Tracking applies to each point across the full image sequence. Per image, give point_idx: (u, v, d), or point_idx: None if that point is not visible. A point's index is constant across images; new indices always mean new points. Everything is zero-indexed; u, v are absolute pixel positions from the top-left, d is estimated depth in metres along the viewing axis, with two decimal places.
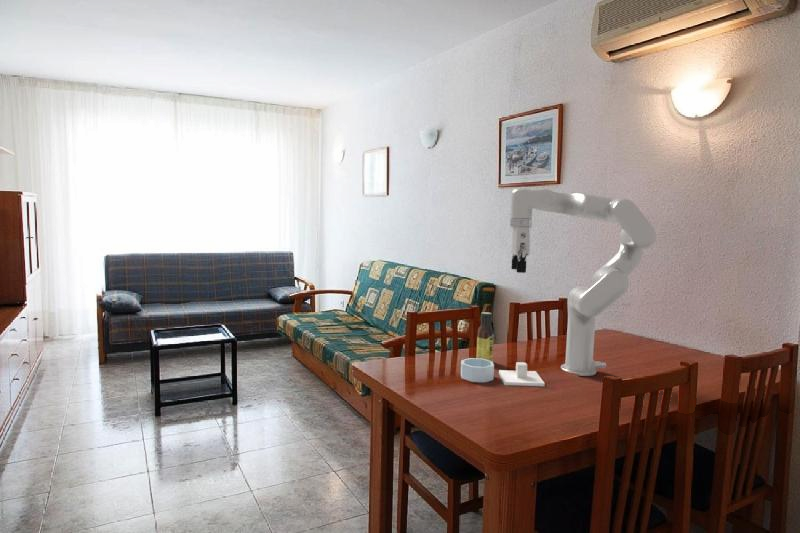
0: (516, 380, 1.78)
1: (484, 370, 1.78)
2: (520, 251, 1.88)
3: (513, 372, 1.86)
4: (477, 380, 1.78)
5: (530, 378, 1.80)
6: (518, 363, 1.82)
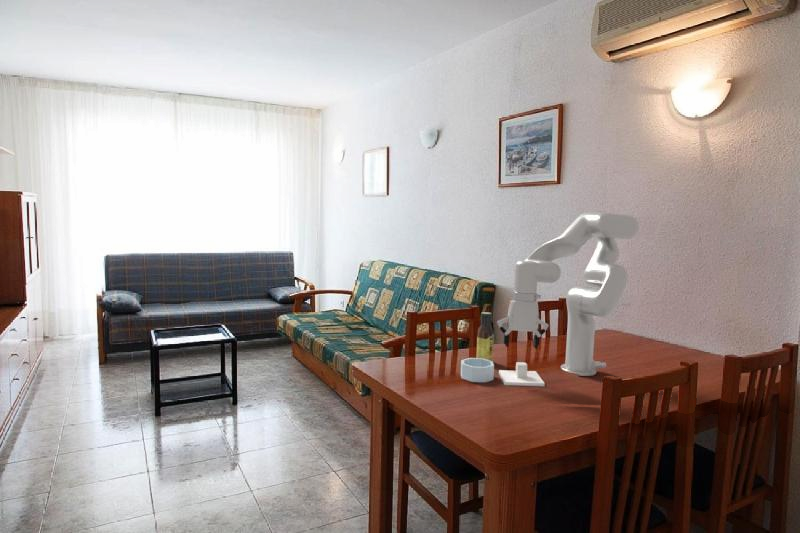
0: (516, 380, 1.78)
1: (484, 370, 1.78)
2: None
3: (513, 372, 1.86)
4: (477, 380, 1.78)
5: (530, 378, 1.80)
6: (518, 363, 1.82)
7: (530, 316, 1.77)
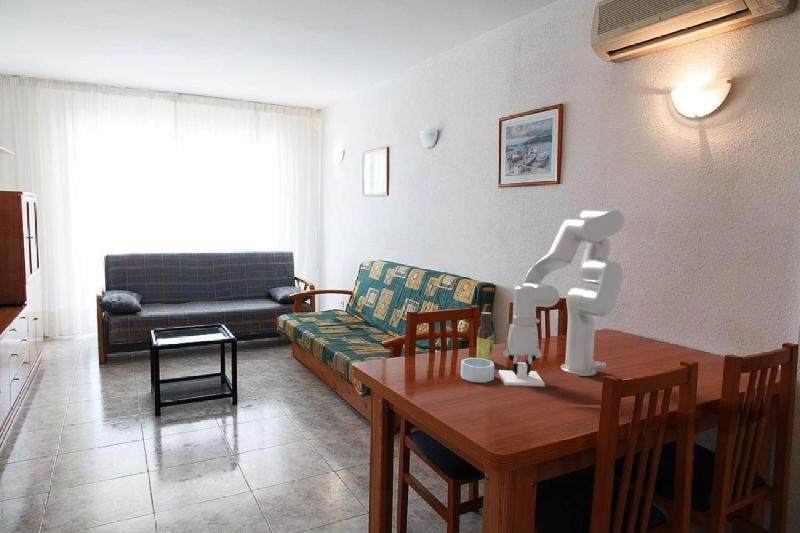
0: (516, 380, 1.78)
1: (485, 370, 1.78)
2: None
3: (513, 372, 1.86)
4: (477, 380, 1.78)
5: (530, 378, 1.80)
6: (518, 363, 1.82)
7: (530, 340, 1.78)
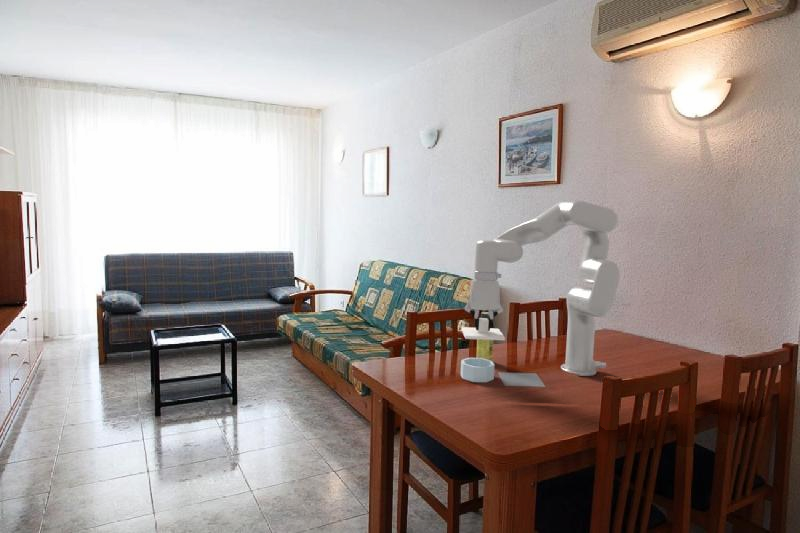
0: (477, 334, 1.77)
1: (485, 370, 1.78)
2: None
3: (475, 329, 1.85)
4: (478, 380, 1.78)
5: (492, 333, 1.80)
6: (480, 319, 1.81)
7: (491, 295, 1.78)
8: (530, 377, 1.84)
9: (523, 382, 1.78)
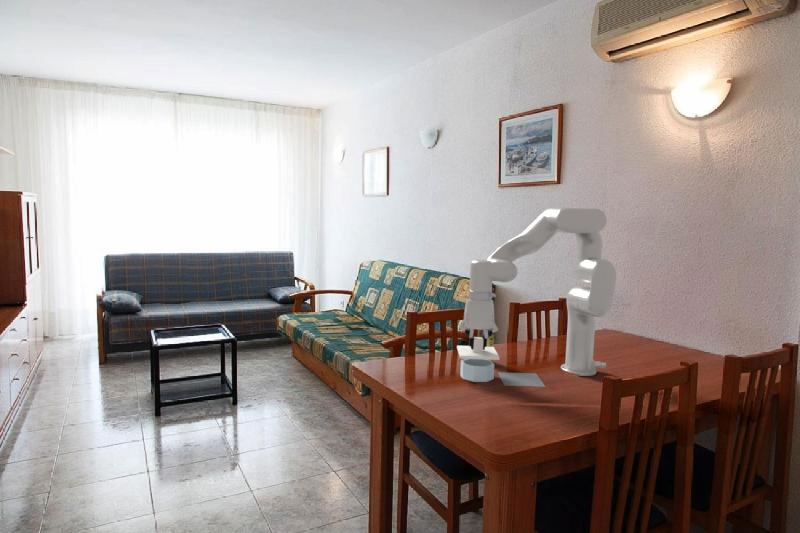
0: (471, 354, 1.78)
1: (485, 369, 1.78)
2: None
3: (470, 348, 1.86)
4: (479, 379, 1.78)
5: (486, 352, 1.81)
6: (475, 338, 1.82)
7: (485, 314, 1.79)
8: (530, 377, 1.84)
9: (523, 382, 1.78)
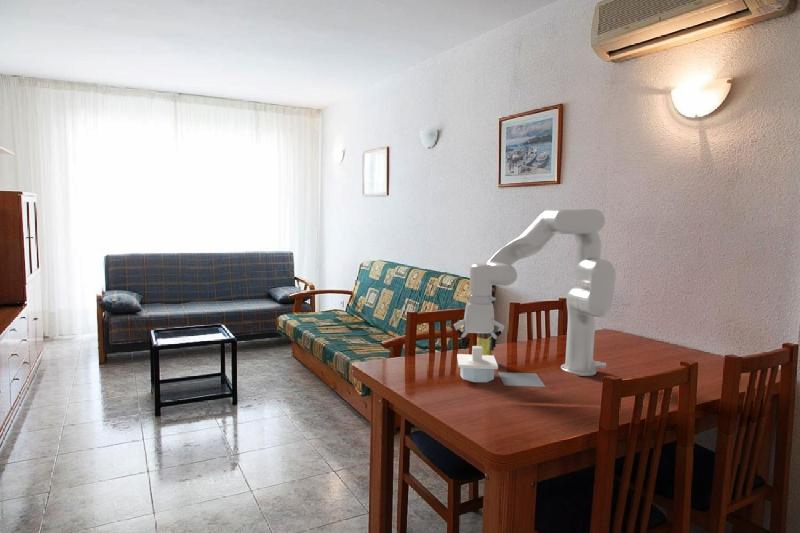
0: (470, 363, 1.78)
1: (486, 370, 1.78)
2: None
3: (470, 356, 1.86)
4: (479, 380, 1.78)
5: (486, 361, 1.81)
6: (474, 347, 1.82)
7: (485, 318, 1.79)
8: (530, 377, 1.84)
9: (523, 382, 1.78)
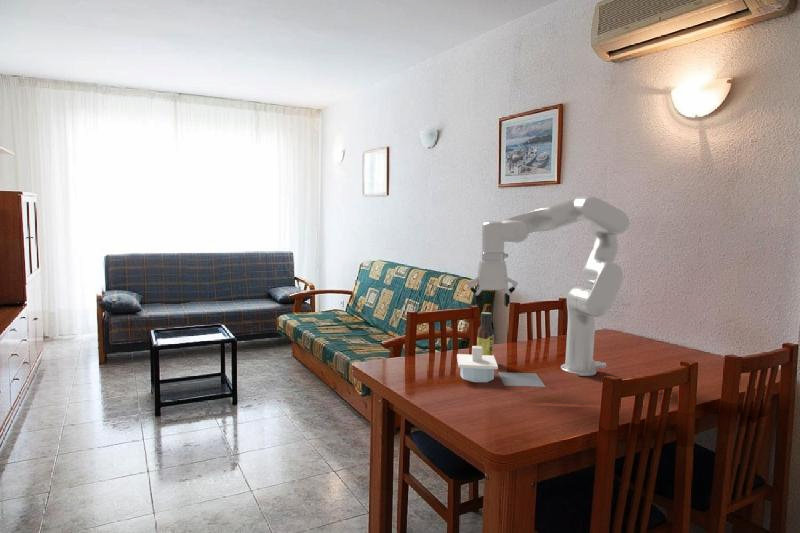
0: (470, 363, 1.78)
1: (486, 370, 1.78)
2: None
3: (470, 356, 1.86)
4: (479, 380, 1.78)
5: (485, 361, 1.81)
6: (474, 347, 1.82)
7: (499, 275, 1.81)
8: (530, 377, 1.84)
9: (523, 382, 1.78)
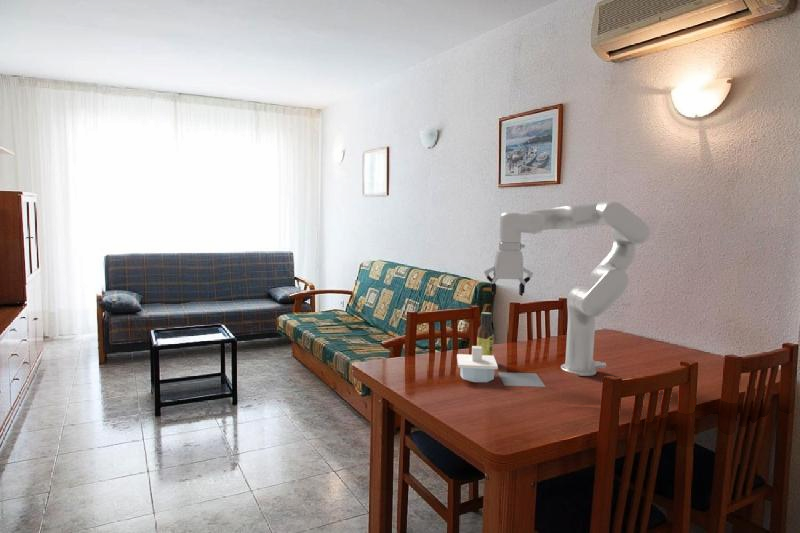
0: (470, 363, 1.78)
1: (486, 370, 1.78)
2: None
3: (469, 356, 1.86)
4: (479, 380, 1.78)
5: (485, 361, 1.81)
6: (474, 347, 1.82)
7: (515, 264, 1.86)
8: (530, 377, 1.84)
9: (523, 382, 1.78)
